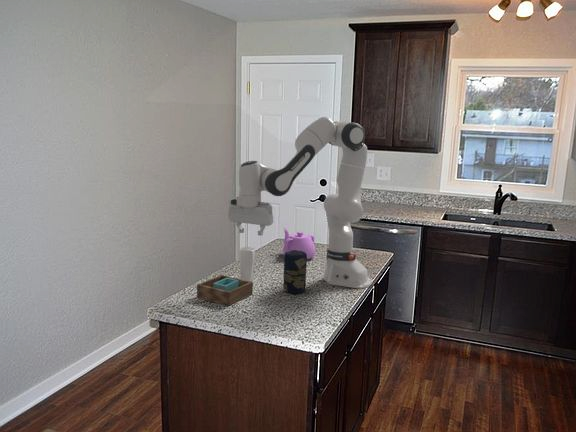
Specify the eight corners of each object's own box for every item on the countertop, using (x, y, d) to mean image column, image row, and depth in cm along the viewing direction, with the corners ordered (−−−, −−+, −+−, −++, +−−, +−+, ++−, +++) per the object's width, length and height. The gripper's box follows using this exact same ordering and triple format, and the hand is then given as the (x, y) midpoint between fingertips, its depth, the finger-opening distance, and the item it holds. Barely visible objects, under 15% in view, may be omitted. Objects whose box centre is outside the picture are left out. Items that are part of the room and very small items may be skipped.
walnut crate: (252, 294, 206) (252, 281, 205) (229, 306, 192) (229, 292, 191) (221, 287, 214) (221, 274, 213) (197, 297, 200) (197, 284, 199)
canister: (289, 296, 206) (291, 254, 203) (279, 289, 214) (280, 248, 211) (309, 293, 210) (311, 251, 207) (298, 286, 219) (300, 246, 215)
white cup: (251, 284, 219) (252, 251, 216) (236, 282, 220) (237, 249, 218) (255, 279, 226) (256, 247, 223) (241, 278, 227) (241, 246, 224)
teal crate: (238, 291, 206) (238, 280, 205) (225, 298, 198) (225, 286, 197) (226, 289, 209) (226, 277, 208) (213, 295, 201) (213, 283, 200)
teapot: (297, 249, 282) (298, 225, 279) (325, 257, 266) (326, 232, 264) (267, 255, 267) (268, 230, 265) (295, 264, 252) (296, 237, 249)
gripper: (276, 201, 202) (276, 235, 204) (234, 197, 211) (235, 229, 214) (267, 204, 196) (268, 238, 199) (225, 200, 206) (226, 232, 209)
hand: (250, 233), depth 207 cm, fingers open, 8 cm apart
